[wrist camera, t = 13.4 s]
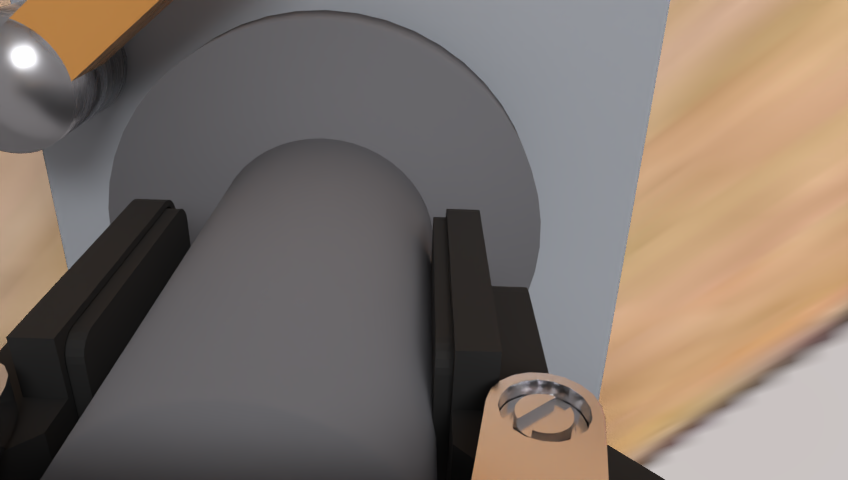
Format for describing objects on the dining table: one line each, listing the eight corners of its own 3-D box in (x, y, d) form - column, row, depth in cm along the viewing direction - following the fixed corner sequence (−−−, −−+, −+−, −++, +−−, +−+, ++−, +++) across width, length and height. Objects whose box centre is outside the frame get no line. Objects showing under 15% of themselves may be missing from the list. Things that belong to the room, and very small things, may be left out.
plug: (202, 292, 19) (-61, 774, 9) (162, -23, 15) (-360, 167, 5) (500, 302, 19) (584, 788, 9) (530, -10, 16) (731, 203, 5)
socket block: (162, 366, 21) (109, 462, 18) (78, -166, 15) (-29, -183, 12) (559, 379, 22) (584, 477, 18) (635, -145, 15) (698, -155, 12)
